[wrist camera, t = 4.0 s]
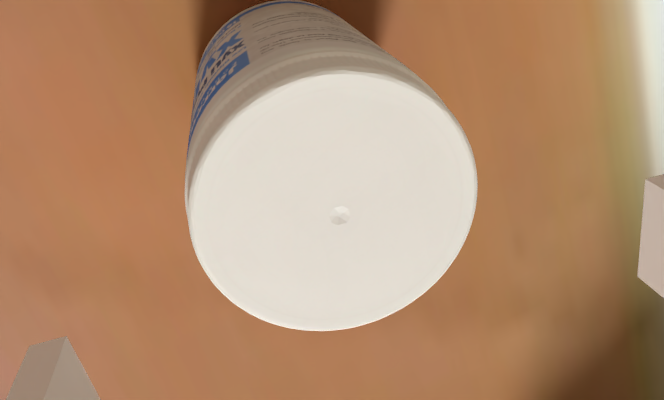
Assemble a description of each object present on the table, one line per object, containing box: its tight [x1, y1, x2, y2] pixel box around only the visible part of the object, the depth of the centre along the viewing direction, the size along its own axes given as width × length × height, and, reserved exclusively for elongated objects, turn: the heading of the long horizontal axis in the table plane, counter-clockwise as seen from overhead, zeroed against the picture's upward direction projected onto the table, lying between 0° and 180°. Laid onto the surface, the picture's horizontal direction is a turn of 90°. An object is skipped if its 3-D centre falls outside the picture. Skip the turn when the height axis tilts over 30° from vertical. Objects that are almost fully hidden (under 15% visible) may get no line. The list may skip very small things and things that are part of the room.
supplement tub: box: [185, 0, 478, 331], centre depth 24 cm, size 10×10×15 cm
